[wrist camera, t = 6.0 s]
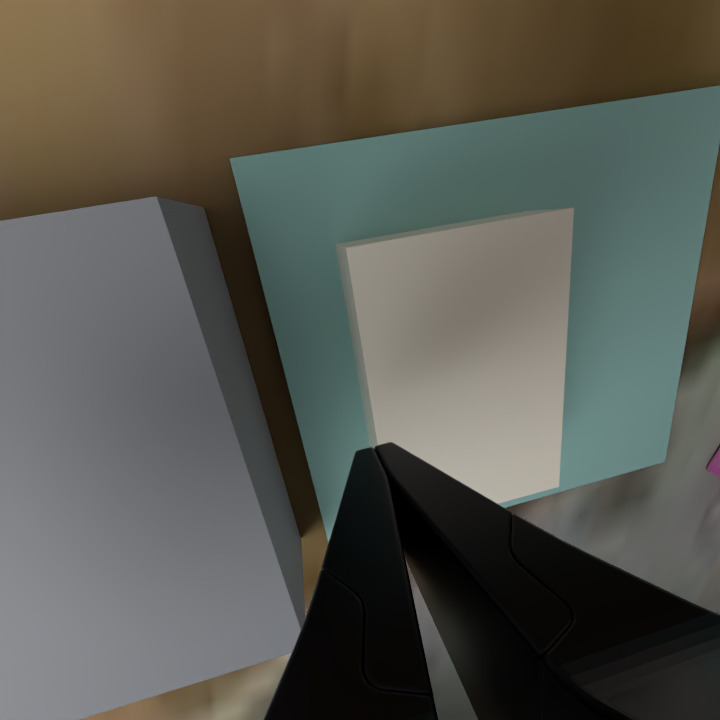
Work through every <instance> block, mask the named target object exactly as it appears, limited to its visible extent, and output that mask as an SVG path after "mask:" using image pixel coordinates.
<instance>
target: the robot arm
mask: <svg viewBox="0 0 720 720" xmlns="http://www.w3.org/2000/svg"><path fill="white" fill-rule="evenodd" d="M405 559H406V560H405ZM406 561H407V563H408V565H409V567H410V570H411V572H412V574H413V576H414V579H415V581H416V583H417V585H418V587H419V590H420V592H421V594H422V596H423V598H424V601H425V603H426V605H427V607H428V609H429V612H430V614H431V616H432V618H433V620H434V623H435V625H436V627H437V629H438V631H439V634H440V636H441V638H442V640H443V643H444V645H445V647H446V649H447V651H448V654H449V656H450V658H451V660H452V662H453V665H454V667H455V669H456V671H457V673H458V676H459V678H460V680H461V682H462V684H463V687H464V689H465V691H466V693H467V695H468V698H469V700H470V702H471V704H472V707H473V709H474V711H475V713H476V715H477V718H478V720H720V615H719V614H717V613H714V612H712V611H709V610H707V609H705V608H702V607H700V606H698V605H696V604H693V603H691V602H689V601H687V600H685V599H683V598H681V597H679V596H676V595H674V594H672V593H670V592H668V591H666V590H664V589H662V588H660V587H658V586H655V585H653V584H651V583H649V582H647V581H645V580H643V579H641V578H639V577H636V576H634V575H632V574H630V573H628V572H626V571H624V570H622V569H620V568H618V567H615V566H613V565H611V564H609V563H607V562H605V561H603V560H601V559H599V558H597V557H595V556H593V555H591V554H589V553H587V552H585V551H583V550H581V549H579V548H577V547H575V546H573V545H571V544H568V543H566V542H564V541H562V540H561V539H559V538H557V537H555V536H553V535H552V534H550V533H548V532H546V531H544V530H543V529H541V528H539V527H537V526H535V525H534V524H532V523H530V522H528V521H527V520H525V519H523V518H521V517H520V516H518V515H516V514H513V515H512V512H511V511H509V510H507V509H506V508H504V507H502V506H501V505H499V504H497V503H496V502H494V501H492V500H490V499H489V498H487V497H485V496H484V495H482V494H480V493H478V492H477V491H475V490H473V489H472V488H470V487H468V486H466V485H465V484H463V483H461V482H460V481H458V480H456V479H455V478H453V477H451V476H449V475H448V474H446V473H444V472H443V471H441V470H439V469H437V468H436V467H434V466H432V465H431V464H429V463H427V462H425V461H424V460H422V459H420V458H419V457H417V456H415V455H413V454H412V453H410V452H408V451H407V450H405V449H403V448H402V447H400V446H398V445H396V444H395V443H393V442H388V443H384V444H380V445H377V446H375V448H373V447H369V448H365V449H361V450H357V451H356V452H355V454H354V458H353V461H352V465H351V468H350V471H349V475H348V478H347V482H346V485H345V489H344V492H343V495H342V499H341V502H340V506H339V509H338V513H337V516H336V519H335V523H334V526H333V530H332V533H331V537H330V540H329V543H328V547H327V550H326V554H325V557H324V561H323V564H322V570H321V571H320V574H319V577H318V580H317V584H316V587H315V591H314V594H313V597H312V600H311V603H310V606H309V609H308V612H307V615H306V618H305V621H304V624H303V626H302V629H301V631H300V634H299V636H298V639H297V641H296V644H295V646H294V649H293V651H292V654H291V656H290V659H289V661H288V663H287V666H286V668H285V670H284V673H283V675H282V677H281V680H280V682H279V684H278V687H277V689H276V691H275V694H274V696H273V699H272V701H271V703H270V706H269V708H268V710H267V713H266V715H265V717H264V720H438V717H437V712H436V707H435V703H434V698H433V692H432V687H431V683H430V678H429V673H428V668H427V663H426V658H425V653H424V648H423V643H422V638H421V634H420V629H419V624H418V619H417V614H416V609H415V604H414V599H413V594H412V589H411V585H410V580H409V575H408V570H407V565H406Z"/></svg>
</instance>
